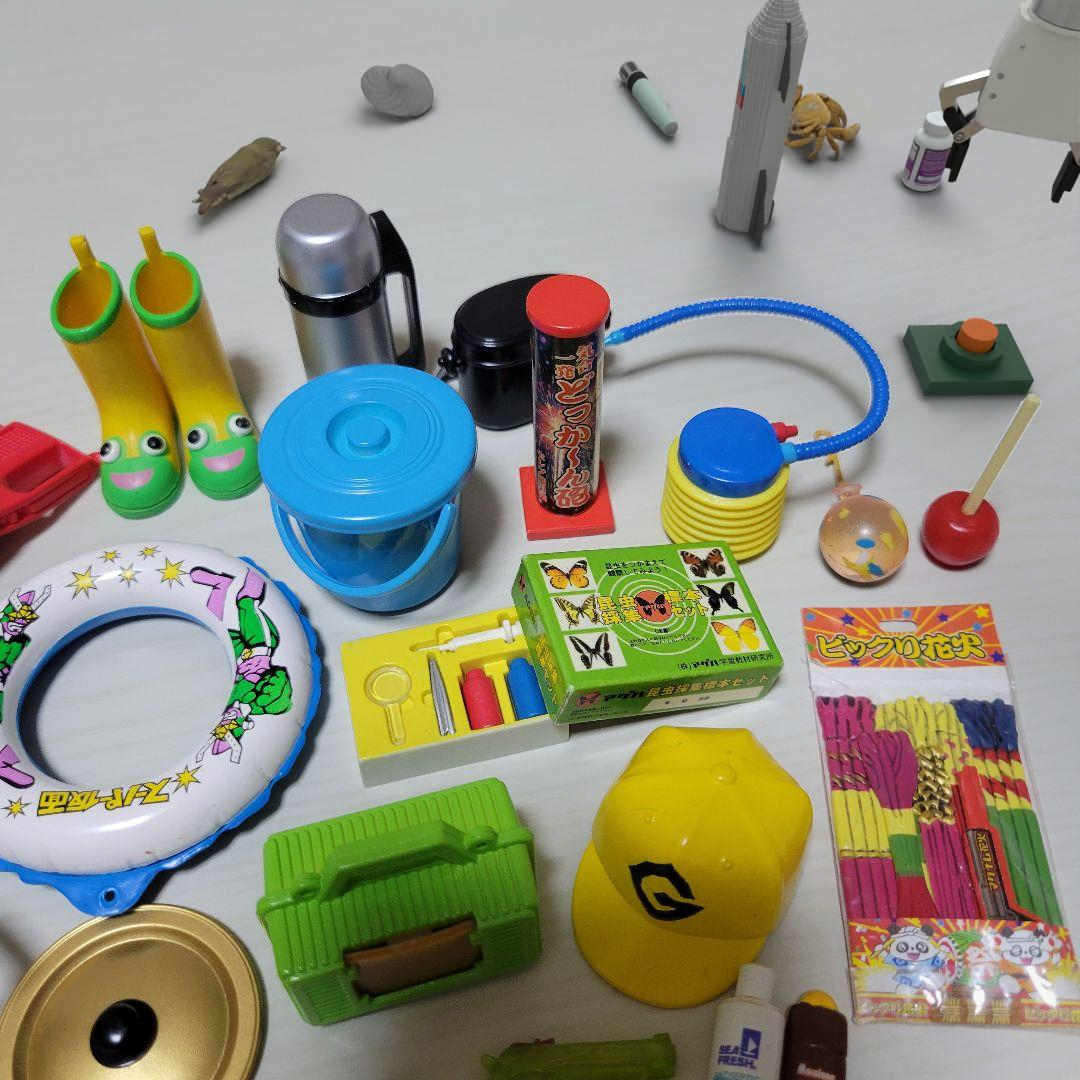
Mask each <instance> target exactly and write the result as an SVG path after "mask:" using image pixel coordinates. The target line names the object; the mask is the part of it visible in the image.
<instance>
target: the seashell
mask: <svg viewBox="0 0 1080 1080" xmlns="http://www.w3.org/2000/svg"><path fill="white" fill-rule="evenodd" d="M360 88H361V91H362V94H363V95H364V97H365V99H366V101H368V102H369V104H370V105H371V106H372V107H373V108H374V109H376V110H377V111H379V112H381V113H382V114H384V115H387V116H390V117H394V118H397V119H411V118H412V119H413V118H416V117H420V116H422V115H424V114H425V113H426V112H428V110H429V109H430V108H431V106H432V103H433V101H434V88H433V85H432V83H431V80H430V79H429V77H428V76H427V74H426V73H424V72H423V71H422V70H420V69H419V68H418V67H415V66H412V65H411V64H408V63H398V64H395V65H394V66H390V65H387V66H386V65H374V66H371V67H370V68H368V69H367V70H366V71H365V72H364V73H363V74H362V76H361V78H360Z"/></svg>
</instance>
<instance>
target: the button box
mask: <svg viewBox="0 0 1080 1080" xmlns="http://www.w3.org/2000/svg"><path fill="white" fill-rule="evenodd" d="M965 321H966V320H958V321H956V322H954V323H953V324H909V325H908V326H907V328H906V330H905V334H904V336H903V342H904V346H905V348H906V350H907V352H908V356H909V358H910V360H911V363H912V366H913V369H914V372H915V374H916V376H917V380H918V382H919V385H920V387H921V391H922V392H923V395H924V396H928V397H929V396H930V397H931V396H932V397H933V396H985V395H986V396H988V395H989V396H990V395H1027V394H1028V392H1029V391H1030V389H1031V387H1032V385H1034V382H1035V379H1034V377H1033V375H1032V373H1031V371H1030V368H1029V367H1028V364H1027V362H1026V360H1025V358H1024V356H1023V354H1022V352H1021V350H1020V348H1019V346H1018V344H1017V341H1016V340H1015V338H1014V336H1013V334H1012V332H1011V329H1010V328H1009V326H1008V323H993V324H994V325H995V326H996V327H997V329H998V336H997V338H996V340H995V342H994V344H993V346H992V348H991V350H990V351H989V352H987V353H973V352H970V351H967V350H964V349H963V348H962V347H960V346H959V345H958V344H957V341H956V339H957V336H958V334H959V331H960V329H961V327H962V324H963V323H964V322H965Z"/></svg>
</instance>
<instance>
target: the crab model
mask: <svg viewBox="0 0 1080 1080" xmlns="http://www.w3.org/2000/svg"><path fill="white" fill-rule="evenodd" d="M803 91H804V85H803V84H802V83H799V82H798V84H797V89H796V94H795V98H794V103H793V108H792V112H791V117H790V122H789V127H788V131H787V135H788V134H789V133H790V134H791V135H795V136H799V137H802V138H801V139H796V140H791V141H790V138H789V137H788V136H786V141H785V145H784V146H786V147H788V148H791V149H794V148H795V149H796V148H798V147H803V146H805V145H807V144H809V143H810V142H812V141H813V140H815V139H816V140H815V143H814V147H813V149H814V151H811V153H809V155H808V157H807V158H806V161H811V160H814V158H815V157H816V156H818V154H819V152H820V151H821V150H822V148H823V145H824V140H825V138H826V141H827V143H828V145H829V146H830V147H831V149H832V151H833V152H835V153H834V157H835V158H838V157H839V156H840V153H841V151H840V146H839V144H838V143H837V141H835V140H838V141H841V142H849V141H852V140H853V139H855V138H856V137H857V135H858V134H859V132H860V130H861V123H858V122H856V123H853V124H852V125H851V126H849V127H847V124H848V117H847V113H846V111H845V110H844V108H843V106H842V105H841V104H840V103H839V102H838V101H836V99H834V98H833V97H830V96H829V95H828V94H826V93H824V92H817V93H808V94H804V95H803ZM829 124H830V125H832V127H827V126H828V125H829ZM803 137H804V138H803Z"/></svg>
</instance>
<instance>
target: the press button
mask: <svg viewBox="0 0 1080 1080" xmlns="http://www.w3.org/2000/svg"><path fill="white" fill-rule="evenodd" d="M964 321H965V322H964V323H963V324H962V327H961V329H960V331H959V334H958V336H957V339H956V341H957V344H958V345H959V346H960V347H962V348H963V349H964V350H967V351H970V352H973V353H987V352H989V351H990V350H991V348H992V346H993V344H994V342H995V340H996V338H997V336H998V329H997V327H996V326H995V325H994V324H995V323H993V322H991V321H989V320H987V319H984V318H980V317H972V318H971V317H970V318H968V319H966V320H964Z"/></svg>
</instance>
